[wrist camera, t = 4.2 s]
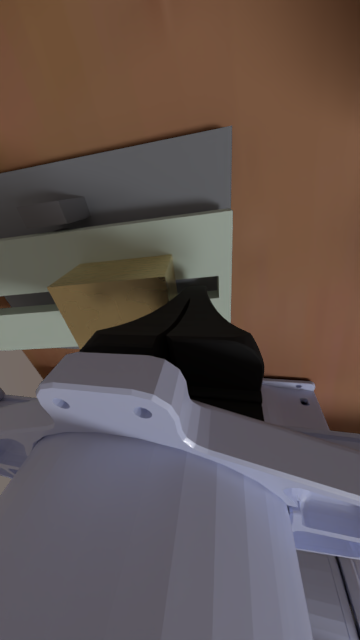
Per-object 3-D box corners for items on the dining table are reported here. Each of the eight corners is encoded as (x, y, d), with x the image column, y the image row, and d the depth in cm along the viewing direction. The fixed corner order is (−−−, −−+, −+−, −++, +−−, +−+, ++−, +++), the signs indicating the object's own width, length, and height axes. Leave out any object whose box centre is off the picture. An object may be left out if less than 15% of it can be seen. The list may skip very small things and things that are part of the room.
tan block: (173, 250, 13) (164, 276, 9) (182, 314, 16) (178, 354, 12) (86, 259, 14) (46, 287, 10) (109, 319, 16) (85, 358, 13)
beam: (227, 206, 12) (232, 210, 11) (226, 321, 17) (230, 337, 16) (-68, 246, 15) (-105, 254, 13) (3, 335, 20) (-17, 351, 18)
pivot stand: (231, 129, 11) (233, 112, 8) (228, 347, 20) (228, 376, 17) (-56, 187, 16) (-119, 190, 13) (45, 341, 25) (21, 363, 22)
